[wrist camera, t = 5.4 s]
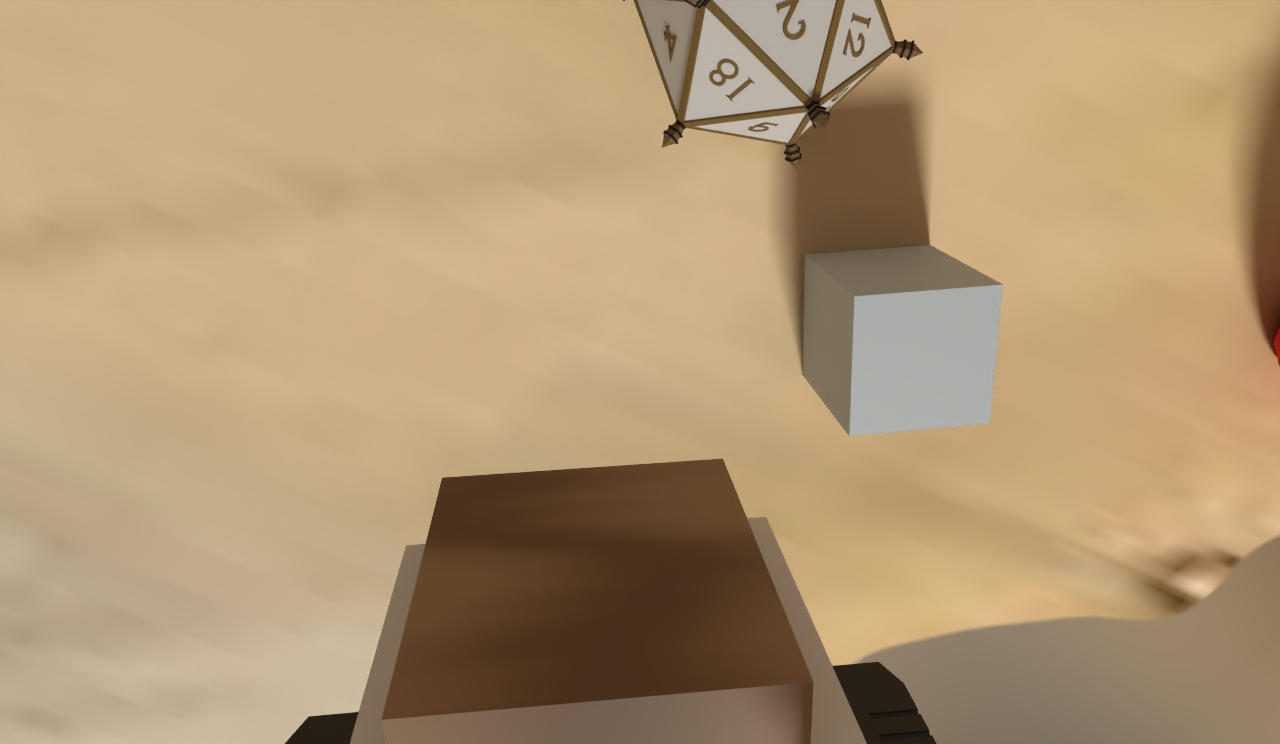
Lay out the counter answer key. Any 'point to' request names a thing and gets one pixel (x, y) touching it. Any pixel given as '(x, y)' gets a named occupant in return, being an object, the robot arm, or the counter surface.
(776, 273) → the counter surface
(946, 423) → the grey-blue block
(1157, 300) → the counter surface
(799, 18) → the game die
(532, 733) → the walnut block
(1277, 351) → the red rounded piece
